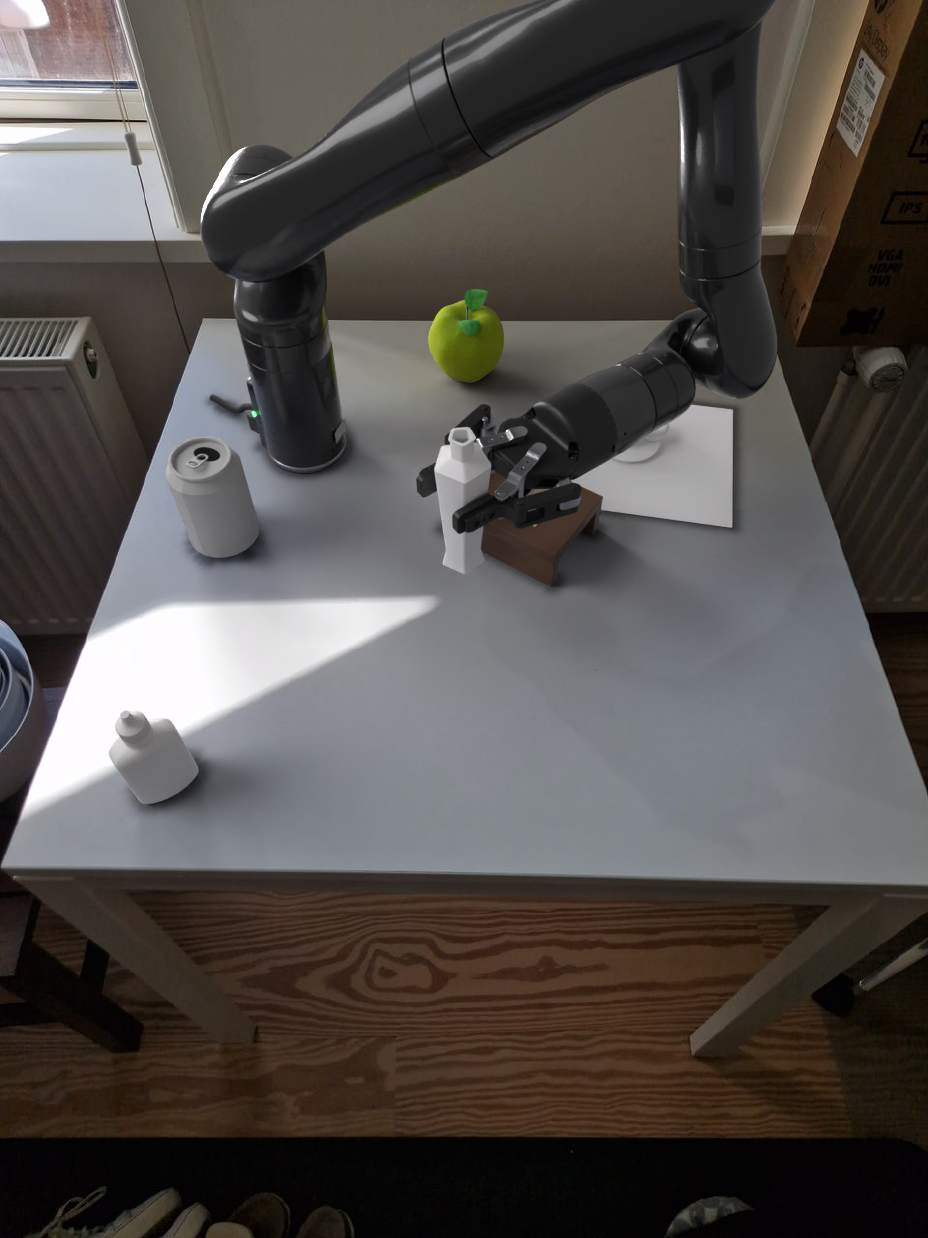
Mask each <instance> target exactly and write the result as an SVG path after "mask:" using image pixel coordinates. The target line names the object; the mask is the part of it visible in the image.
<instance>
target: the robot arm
mask: <svg viewBox="0 0 928 1238" xmlns="http://www.w3.org/2000/svg"><path fill="white" fill-rule="evenodd" d="M777 1H778V0H531V1H528V2H524V3H520V4H518V5H515V6H511V7H508V8H506V9H503V10H499V11H496V12H494V13H491V14H488V15H486V16H483V17H480V18H478V19H476V20H473V21H472V22H469V23H466V24H465V25H464V26H461V27H459V28H457V29H455V30H454V31H452V32H450V33H448V34H447V35H446V36H443V37H442V38H441V39H439V40H437V41H435V42H434V43H432V44H430V45H429V46H427V47H426V48H424V49H423V50H421V51H419V52H417V53H416V54H414V55H413V56H411V57H409V58H408V59H405V60H404V62H402V63H401V64H400V65H398V66H397V67H395V68H394V69H392V70H391V71H390V72H389V73H387V74H386V75H385V76H384V77H383V78H381V80H379V81H378V82H377V83H376V84H375V85H374V86H373V87H372V88H371V89H369V90H368V92H367V93H365V95H363V96H362V97H361V98H360V99H359V100H358V101H357V102H356V103H355V104H354V105H352V106H351V108H350V109H349V110H348V111H347V112H346V113H345V114H344V115H343V116H342V117H341V118H340V119H339V120H338V121H337V122H336V123H335V124H334V125H333V126H332V127H331V128H330V129H329V130H328V131H326V133H325V134H324V135H323V136H322V137H321V138H320V139H318V140H317V141H316V142H315V143H314V144H312V145H311V146H310V147H308V148H307V149H305V150H304V151H302V152H301V153H299V154H297V155H296V156H293V155H291V154H290V153H289V152H287V151H285V150H284V149H282V148H280V147H277V146H274V145H271V144H266V143H265V144H261V143H258V144H251V145H247V146H245V147H242V148H240V149H239V150H237V151H236V152H235V153H233V154H232V155H231V156H230V157H229V158H228V160H227V161H226V162H225V164H224V166H223V167H222V169H221V171H220V172H219V174H218V177H217V179H216V180H215V182H214V184H213V185H212V187H211V190H210V191H209V193H208V195H207V197H206V199H205V201H204V204H203V207H202V212H201V217H200V226H199V230H200V232H199V233H200V234H199V235H200V239H201V245H202V247H203V249H204V252H205V254H206V257H207V258H208V259H209V261H210V263H212V265H213V266H214V267H215V268H216V269H217V270H219V271H220V272H221V273H223V274H224V275H225V276H227V277H229V278H232V279H234V280H235V284H234V292H233V303H232V304H233V312H234V317H235V322H236V326H237V328H238V333H239V337H240V341H241V345H242V350H243V354H244V356H245V361H246V365H247V369H248V373H249V377H248V378H247V380H246V387H247V391H248V396H249V400H250V403H248V402H247V403H246V402H245V403H242V404H240V405H238V406H237V405H234V404H232V403H230V402H228V401H226V400H224V399H223V398H221V397H220V396H218V395H216V394H213V393H211V394H210V396H209V401H211V402H213V403H215V404H216V405H218V406H220V407H221V408H223V409H225V410H227V411H229V412H232V413H235V414H242V413H244V412H245V411H250V412H248V413H247V414H246V418H247V422H248V425H249V430H250V431H251V432H254V433H256V434H258V435H259V438H260V442H261V446H262V447H264V448H265V449H266V450H267V453H268V456H269V458H270V460H271V461H272V462H273V463H274V464H275V465H276V466H277V467H279V468H280V469H282V470H285V471H288V472H290V473H295V474H296V473H297V474H309V473H316V472H319V471H323V470H325V469H328V468H330V467H332V466H333V465H334V464H336V463H337V462H338V461H339V460H341V458H342V457H343V456H344V454H345V453H346V450H347V447H348V439H347V434H346V429H347V423H346V422H347V421H346V418H345V417H343V411H342V403H341V395H340V391H339V383H338V377H337V369H336V362H335V357H334V349H333V344H332V337H331V329H330V323H329V317H328V316H329V315H328V309H327V291H328V271H327V270H328V268H327V260H326V249H327V248H329V247H330V246H331V245H333V244H334V243H336V242H337V241H339V240H340V239H342V238H343V237H345V236H346V235H349V233H351V232H353V231H354V230H356V229H358V228H360V227H362V226H364V225H366V224H367V223H369V222H371V221H373V220H375V219H377V218H379V217H382V216H384V215H386V214H388V213H391V212H392V211H394V210H396V209H398V208H400V207H403V206H404V205H407V204H408V203H411V202H412V201H414V200H416V199H418V198H420V197H421V196H424V195H426V194H427V193H429V192H432V191H433V190H436V189H437V188H439V187H442V186H443V185H445V184H449V183H450V182H453V181H455V180H457V179H459V178H461V177H462V176H464V175H467V174H468V173H470V172H472V171H474V170H476V169H479V168H480V167H482V166H484V165H486V164H488V163H490V162H492V161H494V160H495V159H498V158H499V157H501V156H502V155H504V154H506V153H508V152H509V151H511V150H513V149H514V148H516V147H517V146H519V145H521V144H523V143H525V142H526V141H529V140H531V139H532V138H534V137H535V136H538V135H540V134H541V133H543V132H544V131H546V130H548V129H550V128H552V127H554V126H555V125H557V124H559V123H560V122H562V121H564V120H565V119H567V118H569V117H570V116H572V115H574V114H575V113H577V112H578V111H580V110H582V109H583V108H585V107H586V106H588V105H589V104H592V103H593V102H595V101H596V100H598V99H600V98H602V97H603V96H606V95H607V94H609V93H612V92H614V91H616V90H617V89H620V88H622V87H624V86H627V85H629V84H631V83H633V82H637V81H638V80H641V79H643V78H646V77H649V76H651V75H654V74H656V73H659V72H661V71H665V70H666V69H668V68H672V67H673V66H674V71H675V81H676V83H675V84H676V94H677V95H676V96H677V97H676V98H677V127H678V129H677V132H678V133H677V134H678V135H677V140H678V141H677V176H676V177H677V179H676V180H677V181H676V182H677V183H676V231H677V232H676V233H677V235H676V236H677V257H678V259H677V260H678V276H679V285H680V288H681V291H682V293H683V295H684V297H686V298H687V299H688V300H689V301H690V302H691V303H693V304H694V305H695V306H696V308H691V309H688V310H686V311H684V312H682V313H680V314H678V315H677V316H675V318H674V319H673V320H671V321H670V322H669V324H667V325H666V327H665V328H664V329H662V331H660V333H659V334H657V336H655V337H654V338H653V339H652V340H651V341H650V342H649V343H648V345H647V346H646V347H645V348H644V349H643V350H642V351H640V352H638V353H636V354H634V355H632V356H630V357H628V358H626V359H624V360H622V361H620V362H618V363H617V364H616V363H615V364H614V365H613V366H611V367H608V368H605V369H602V370H598V371H596V372H593V373H592V374H589V375H587V376H585V377H583V378H581V379H579V380H578V381H576V382H574V383H572V384H569V385H568V386H566V387H564V388H562V389H560V390H558V391H556V392H554V393H552V394H551V395H549V396H547V397H545V398H543V399H541V400H539V401H537V402H536V403H534V404H533V405H532V406H531V407H530V408H529V409H528V411H526V413H524V414H523V415H521V416H519V417H518V416H517V417H510V418H507V419H505V420H503V419H501V418H499V417H497V416H495V415H493V414H492V407H491V405H490V404H487V403H482V404H480V405H478V406H477V407H476V408H474V410H472V411H471V412H470V413H469V414H468V415H467V416H466V417H465V418H463V419H462V420H461V421H460V422H459V423H457V425H456V426H454V428H462V427H469V428H470V429H471V430H472V432H473V433H474V435H475V436H476V439H475V440H474V443H477V444H478V445H479V446H480V448H481V449H482V451H483V453H484V454H485V456H486V457H487V459H488V453H489V451H491V460H489V462H490V463H491V472H490V474H493V473H498V474H499V475H501V476H503V477H505V479H506V480H505V481H504V483H503V484H502V485H501V486H500V487H499V488H498V489H497V490H496V491H495V493H494V495H493V496H491V495H490V494H489V493H487V494H485V495H483V496H482V497H480V498H478V499H476V500H474V501H472V502H471V503H469V504H467V505H465V506H463V507H462V508H460V509H458V510H456V511H455V512H454V513H453V515H452V527H453V529H454V530H455V531H456V532H457V533H458V534H462V533H463V532H466V533H469V532H474V531H475V530H477V529H478V528H481V527H482V526H484V525H486V524H488V523H489V522H491V521H493V520H495V519H505V518H506V519H508V520H510V521H512V522H513V526H514V527H515V528H518V529H522V528H525V527H529V526H532V525H536V524H539V523H542V522H546V521H549V520H553V519H556V518H559V517H563V516H566V515H570V514H573V513H576V512H577V511H578V509H579V504H580V499H581V490H582V487H581V486H580V485H579V484H577V483H572V482H571V480H575V479H577V478H579V477H580V476H582V475H584V474H586V473H587V472H589V471H591V470H593V469H594V468H596V467H598V466H600V465H602V464H603V463H605V462H607V461H609V460H610V459H612V458H614V457H615V456H617V455H619V454H621V453H623V452H624V451H626V450H628V449H629V448H631V447H632V446H634V445H635V444H636V443H638V442H639V441H640V440H641V439H642V438H644V437H645V436H647V435H649V434H650V433H652V432H654V431H656V430H657V429H659V428H661V427H663V426H664V425H666V424H668V423H670V422H671V421H673V420H675V419H676V418H678V417H679V416H681V415H682V414H683V413H684V412H686V411H687V410H688V409H689V407H690V406H691V405H693V402H694V400H695V397H696V391H697V386H699V387H702V388H703V389H707V390H709V391H712V393H716V394H717V395H720V396H723V397H725V398H728V399H733V400H742V399H743V400H744V399H746V398H750V397H752V396H754V395H755V394H756V393H758V392H759V391H761V390H762V389H763V387H764V386H765V385H766V384H767V382H768V381H769V379H770V378H771V376H772V374H773V371H774V369H775V365H776V363H777V362H776V361H777V358H778V349H779V348H778V347H779V346H778V332H777V327H776V322H775V320H774V315H773V311H772V307H771V303H770V299H769V295H768V291H767V287H766V284H765V281H764V278H763V273H762V269H761V268H762V267H761V266H762V265H761V264H762V239H763V235H762V234H763V183H762V182H763V178H762V177H763V176H762V164H761V163H762V161H761V146H760V129H759V104H758V102H759V100H758V99H759V98H758V97H759V65H760V63H759V62H760V48H761V47H760V46H761V40H762V39H761V38H762V31H763V24H764V19H765V18H766V16H767V15H768V14H769V13H770V11H771V10H772V9H773V7H774V6H775V4H776V3H777ZM492 434H494V435H492ZM449 435H450V431H448V432H447V434H446V435H444V445H450V442H449V441H448V438H449ZM436 462H437V461H435V462H433V463H432V464H430V465H427V466H426V467H424V468H422V469H421V470H420V471H419V472H418V475H417V476H416V480H415V482H416V492H417V493H418V494H419V495H420V496H421V498H427V497H429V496H431V495H433V494H435V493H436V492H437V485H436V478H435V471H434V468H435V465H436ZM535 489H549V490H546V491H542V492H539V493H535V494H532V492H533V491H534V490H535ZM437 493H438V492H437ZM531 494H532V495H531ZM533 509H535V510H533ZM530 510H531V511H530Z"/></svg>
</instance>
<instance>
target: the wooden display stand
mask: <svg viewBox="0 0 928 1238" xmlns="http://www.w3.org/2000/svg"><path fill="white" fill-rule="evenodd" d="M492 435H494V434H492ZM488 460H491V451H489V453H488ZM505 480H506V479H505V477H503V476H501V475H499V474H498V473H493V474H490V480H489V488H488V493H489V494H490V495H491V496H493V495H494V493H495V491H496V490H497V489H498V488H499V487H500V486H501V485H502V484H503V483H504V481H505ZM572 483H573V482H572ZM546 490H549V489H535V490H534V491H533V492H532V494H535V493H539V492H542V491H546ZM532 494H531V495H532ZM602 500H603V496H601V495H599V494H597V493H594V492H592V491H590V490H588V489H586V488H584V487H582V490H581V499H580V504H579V509H578V511H577V512H576V513H573V514H570V515H566V516H563V517H559V518H556V519H553V520H549V521H546V522H542V523H539V524H536V525H532V526H529V527H525V528H522V529H518V528H515V527H514V526H513V522H512V521H510V520H508V519H506V518H505V519H495V520H493V521H491V522H489V523H488V524H486V525H484V526H483V534H482V542H481V551H482V553H484V554H487V555H488V556H490V557H493V558H494V559H496V560H498V561H500V562H502V563H504V564H506V565H508V566H509V567H512V568H513V569H515V570H518V571H519V572H522V573H524V574H526V575H528V576H530V577H531V578H533V579H535V580H537V581H539V582H540V583H543V584H545V585H547V586H548V587H553V586H554V584H555V583H556V582H557V580H558V574H559V568H560V562H561V561H560V560H561V558H562V557H563V555H564V553H566V552H567V550H568V549H569V548H570V546H571V545H572V543H573V542H574V541H575V540H576V539H577V537H578V536H579V535H580V534H581V532H582V531H584V532H586V533H588V534H589V535H593V534H594V533H595V532H596V531H597V529H598V526H599V521H600V517H601V511H602V510H601V506H602ZM533 510H535V509H533ZM530 511H531V510H530ZM441 531H442V532H443V526H442V525H441Z"/></svg>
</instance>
